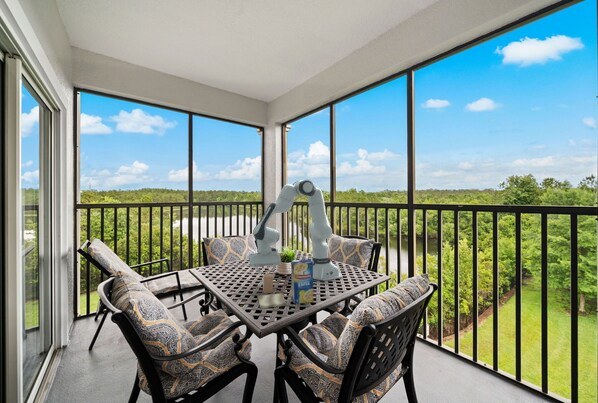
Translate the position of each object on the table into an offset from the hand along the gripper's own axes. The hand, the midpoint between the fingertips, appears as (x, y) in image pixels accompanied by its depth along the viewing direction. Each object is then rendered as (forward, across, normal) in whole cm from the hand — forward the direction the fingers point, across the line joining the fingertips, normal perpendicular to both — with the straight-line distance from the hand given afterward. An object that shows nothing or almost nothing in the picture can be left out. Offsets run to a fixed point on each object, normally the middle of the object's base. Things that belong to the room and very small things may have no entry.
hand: (266, 271), depth 162 cm
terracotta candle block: (+11, 0, +4) cm, 12 cm away
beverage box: (+24, +17, -8) cm, 31 cm away
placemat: (+22, 0, -6) cm, 23 cm away
